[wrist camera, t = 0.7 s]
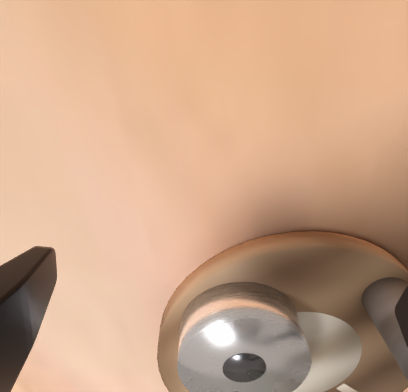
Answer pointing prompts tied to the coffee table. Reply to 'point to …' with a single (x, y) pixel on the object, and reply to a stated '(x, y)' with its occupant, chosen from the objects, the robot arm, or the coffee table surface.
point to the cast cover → (242, 341)
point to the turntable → (313, 306)
